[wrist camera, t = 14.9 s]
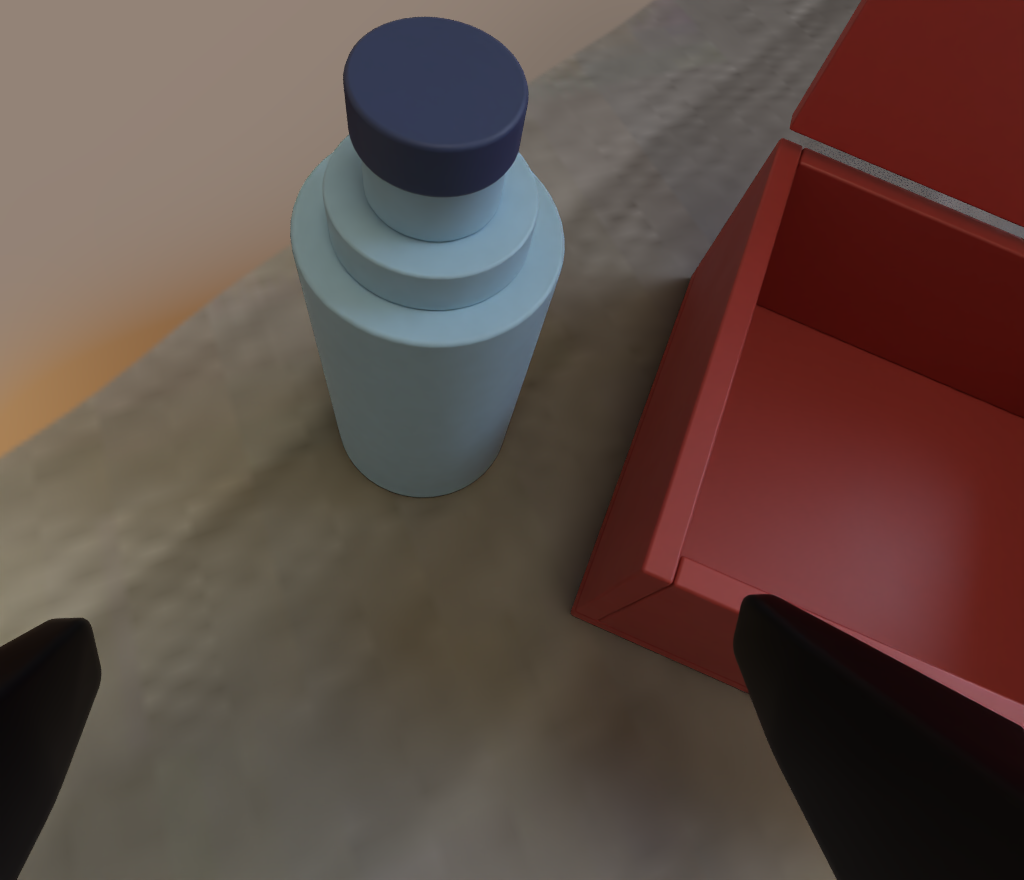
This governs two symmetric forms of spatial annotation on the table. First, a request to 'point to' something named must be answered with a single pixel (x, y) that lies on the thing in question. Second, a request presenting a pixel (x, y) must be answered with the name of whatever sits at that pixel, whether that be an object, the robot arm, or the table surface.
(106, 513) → the table surface
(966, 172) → the cool box lid
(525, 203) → the water bottle
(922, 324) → the cool box
